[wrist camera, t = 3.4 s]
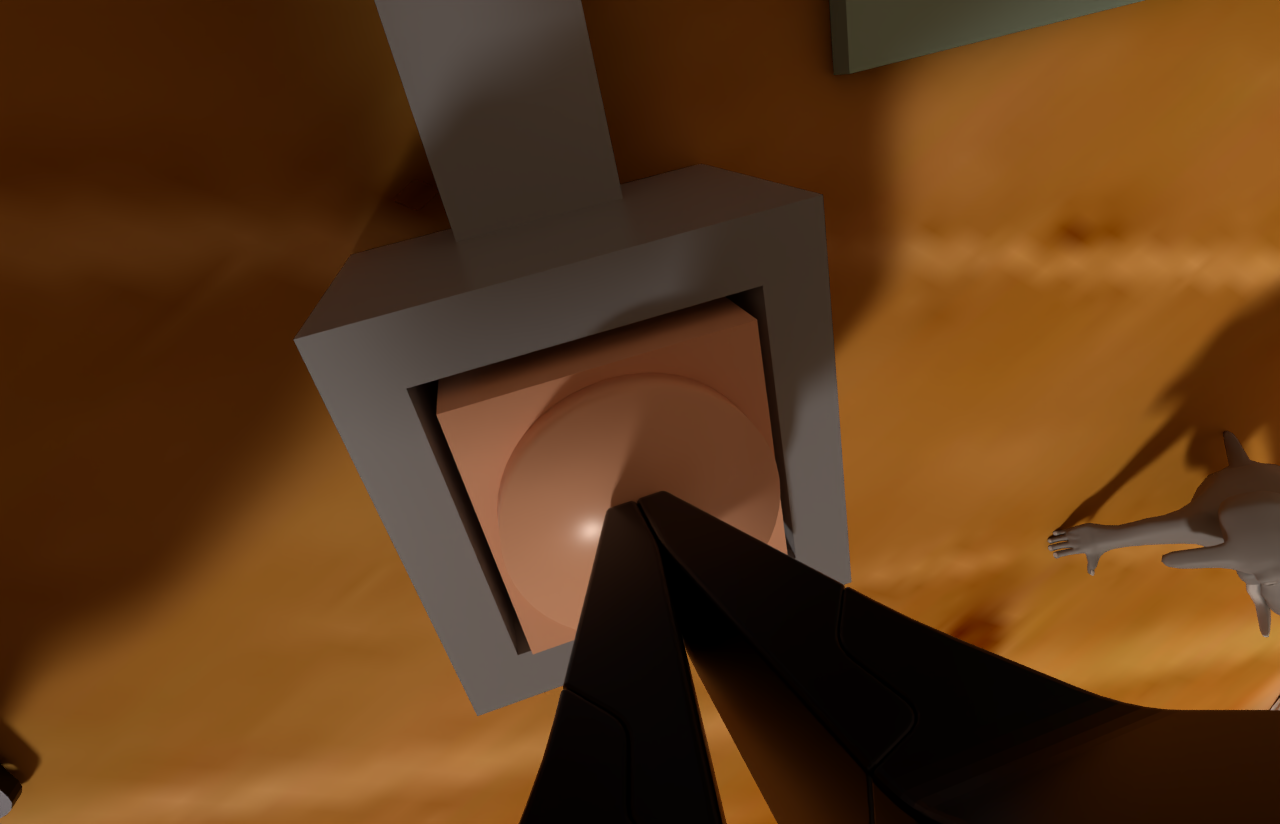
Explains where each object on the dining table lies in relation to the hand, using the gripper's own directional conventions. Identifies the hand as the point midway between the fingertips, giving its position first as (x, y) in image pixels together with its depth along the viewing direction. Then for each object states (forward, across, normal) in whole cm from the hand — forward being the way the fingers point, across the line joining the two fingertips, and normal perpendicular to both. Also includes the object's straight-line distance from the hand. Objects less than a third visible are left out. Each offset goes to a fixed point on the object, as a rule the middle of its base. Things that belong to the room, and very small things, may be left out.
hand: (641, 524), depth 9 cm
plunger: (+6, 0, 0) cm, 6 cm away
